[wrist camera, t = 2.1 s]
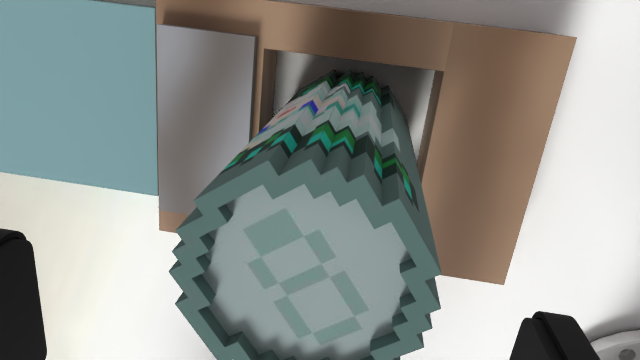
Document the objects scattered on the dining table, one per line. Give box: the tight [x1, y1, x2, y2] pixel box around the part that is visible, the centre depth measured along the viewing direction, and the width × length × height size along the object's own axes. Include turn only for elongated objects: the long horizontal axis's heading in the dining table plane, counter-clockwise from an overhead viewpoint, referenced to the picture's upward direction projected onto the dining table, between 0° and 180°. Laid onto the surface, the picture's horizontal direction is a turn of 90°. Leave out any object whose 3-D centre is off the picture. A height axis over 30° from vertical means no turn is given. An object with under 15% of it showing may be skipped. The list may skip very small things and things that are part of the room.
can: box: [169, 69, 442, 360], centre depth 18 cm, size 6×6×15 cm
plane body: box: [156, 0, 577, 285], centre depth 23 cm, size 18×12×4 cm, turn 84°
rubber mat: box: [0, 0, 159, 196], centre depth 25 cm, size 10×10×1 cm
